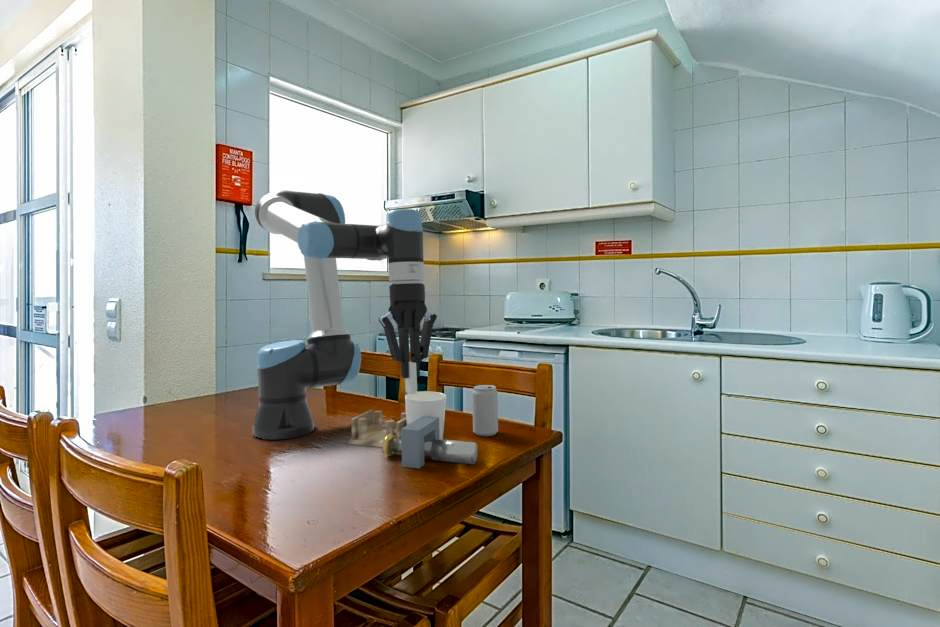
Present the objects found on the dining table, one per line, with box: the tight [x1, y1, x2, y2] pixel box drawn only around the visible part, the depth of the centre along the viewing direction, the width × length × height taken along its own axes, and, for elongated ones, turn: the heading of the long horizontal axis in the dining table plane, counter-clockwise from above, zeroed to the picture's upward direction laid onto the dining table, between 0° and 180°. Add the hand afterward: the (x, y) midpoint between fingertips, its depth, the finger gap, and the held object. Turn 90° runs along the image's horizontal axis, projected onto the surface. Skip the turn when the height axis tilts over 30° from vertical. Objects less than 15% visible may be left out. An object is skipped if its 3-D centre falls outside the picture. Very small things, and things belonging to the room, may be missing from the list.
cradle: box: [348, 409, 406, 448], centre depth 127 cm, size 14×10×6 cm
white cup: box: [404, 390, 447, 440], centre depth 124 cm, size 10×10×12 cm
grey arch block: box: [401, 416, 439, 470], centre depth 113 cm, size 4×11×8 cm, turn 161°
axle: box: [430, 438, 479, 465], centre depth 111 cm, size 9×4×4 cm, turn 71°
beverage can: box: [471, 384, 499, 437], centre depth 131 cm, size 6×6×12 cm
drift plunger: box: [381, 434, 433, 457], centre depth 114 cm, size 11×5×5 cm, turn 71°
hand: (411, 392), depth 112 cm, fingers closed
